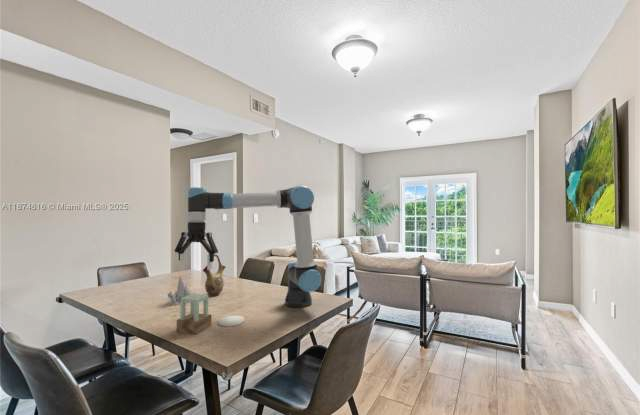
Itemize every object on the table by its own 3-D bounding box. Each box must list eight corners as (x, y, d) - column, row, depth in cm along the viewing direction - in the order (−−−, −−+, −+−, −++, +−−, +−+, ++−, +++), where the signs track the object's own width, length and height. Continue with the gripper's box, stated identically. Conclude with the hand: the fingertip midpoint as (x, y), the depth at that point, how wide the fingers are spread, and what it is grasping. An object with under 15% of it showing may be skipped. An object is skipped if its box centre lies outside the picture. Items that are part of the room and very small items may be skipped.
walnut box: (211, 325, 137) (211, 314, 137) (197, 334, 128) (197, 322, 128) (192, 323, 140) (192, 312, 140) (176, 332, 130) (176, 320, 130)
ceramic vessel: (208, 299, 180) (208, 256, 180) (198, 296, 185) (198, 255, 185) (229, 293, 194) (230, 253, 194) (220, 291, 199) (220, 252, 199)
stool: (208, 315, 137) (208, 294, 137) (196, 321, 129) (196, 299, 129) (192, 313, 139) (192, 293, 139) (180, 319, 131) (180, 298, 131)
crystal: (161, 305, 168) (162, 278, 168) (179, 299, 180) (179, 273, 180) (176, 307, 165) (176, 279, 165) (193, 300, 177) (193, 274, 178)
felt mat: (249, 318, 147) (249, 316, 147) (236, 327, 135) (236, 325, 135) (227, 316, 150) (227, 314, 150) (212, 325, 138) (212, 323, 138)
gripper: (226, 221, 140) (225, 268, 140) (177, 221, 145) (176, 266, 145) (217, 222, 133) (216, 271, 133) (166, 221, 138) (165, 268, 137)
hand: (195, 268), depth 139 cm, fingers open, 13 cm apart
